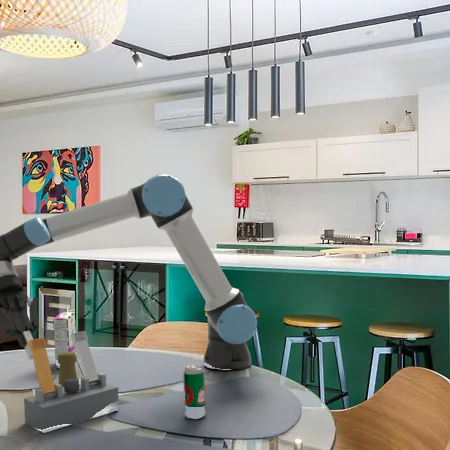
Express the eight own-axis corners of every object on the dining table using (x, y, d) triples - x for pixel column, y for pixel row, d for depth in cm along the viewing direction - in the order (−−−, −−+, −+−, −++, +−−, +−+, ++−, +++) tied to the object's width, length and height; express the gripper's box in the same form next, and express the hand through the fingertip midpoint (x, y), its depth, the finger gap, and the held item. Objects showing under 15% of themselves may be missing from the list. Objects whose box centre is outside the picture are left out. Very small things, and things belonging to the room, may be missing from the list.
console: (25, 423, 142) (23, 386, 141) (98, 402, 155) (96, 369, 155) (43, 433, 134) (42, 395, 134) (118, 411, 148) (117, 376, 148)
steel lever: (86, 388, 148) (70, 335, 153) (99, 385, 150) (82, 333, 155) (88, 386, 147) (72, 333, 152) (101, 383, 149) (85, 330, 154)
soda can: (203, 420, 139) (201, 370, 139) (182, 420, 140) (180, 370, 140) (207, 413, 144) (206, 364, 144) (187, 412, 145) (186, 364, 145)
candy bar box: (62, 360, 201) (60, 312, 200) (77, 359, 201) (75, 311, 200) (54, 369, 189) (52, 318, 189) (70, 368, 190) (68, 317, 189)
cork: (73, 386, 170) (72, 348, 170) (83, 390, 165) (81, 352, 165) (53, 391, 166) (52, 352, 166) (63, 396, 162) (61, 356, 161)
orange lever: (41, 400, 140) (28, 341, 144) (55, 396, 142) (42, 339, 146) (43, 399, 139) (30, 340, 143) (58, 395, 141) (44, 337, 145)
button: (61, 390, 145) (61, 380, 145) (74, 387, 147) (74, 377, 147) (68, 393, 142) (68, 383, 142) (82, 390, 144) (81, 380, 144)
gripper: (24, 288, 163) (54, 359, 151) (-25, 294, 154) (3, 369, 142) (32, 270, 159) (63, 341, 147) (-18, 275, 150) (11, 351, 138)
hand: (33, 355), depth 145 cm, fingers closed
